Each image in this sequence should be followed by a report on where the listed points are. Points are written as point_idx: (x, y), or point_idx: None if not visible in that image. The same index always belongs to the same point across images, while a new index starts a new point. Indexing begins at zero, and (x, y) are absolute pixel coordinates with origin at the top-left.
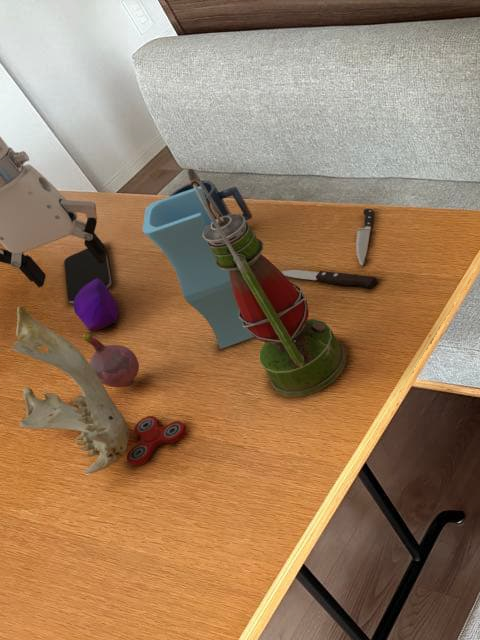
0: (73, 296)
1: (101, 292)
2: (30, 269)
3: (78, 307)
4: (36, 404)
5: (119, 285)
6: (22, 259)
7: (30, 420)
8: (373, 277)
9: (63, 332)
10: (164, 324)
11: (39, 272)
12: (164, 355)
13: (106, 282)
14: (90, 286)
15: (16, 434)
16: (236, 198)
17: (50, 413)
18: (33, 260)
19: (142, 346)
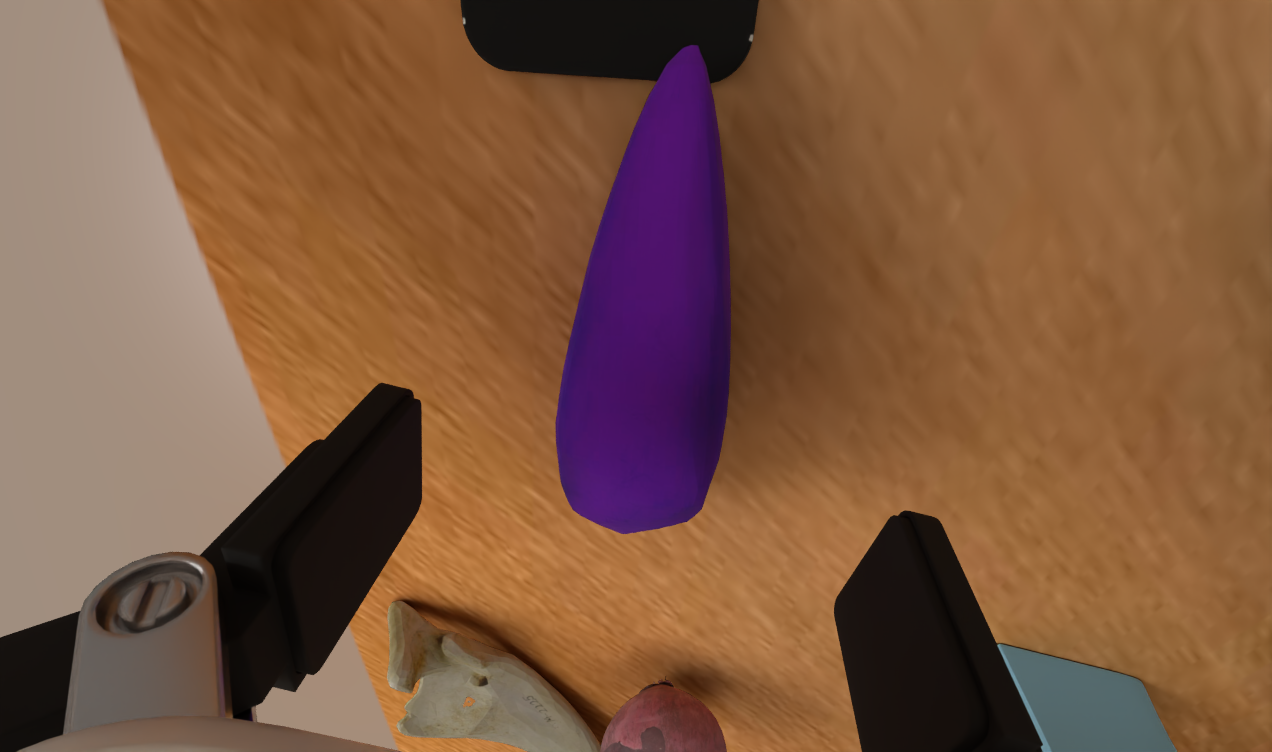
0: (501, 20)
1: (714, 458)
2: (341, 622)
3: (584, 490)
4: (427, 676)
5: (783, 98)
6: (256, 697)
7: (421, 713)
8: None
9: (453, 288)
10: (840, 550)
11: (388, 482)
12: (781, 651)
13: (728, 44)
14: (664, 326)
15: (365, 620)
16: None
17: (466, 693)
18: (330, 506)
19: (738, 584)
